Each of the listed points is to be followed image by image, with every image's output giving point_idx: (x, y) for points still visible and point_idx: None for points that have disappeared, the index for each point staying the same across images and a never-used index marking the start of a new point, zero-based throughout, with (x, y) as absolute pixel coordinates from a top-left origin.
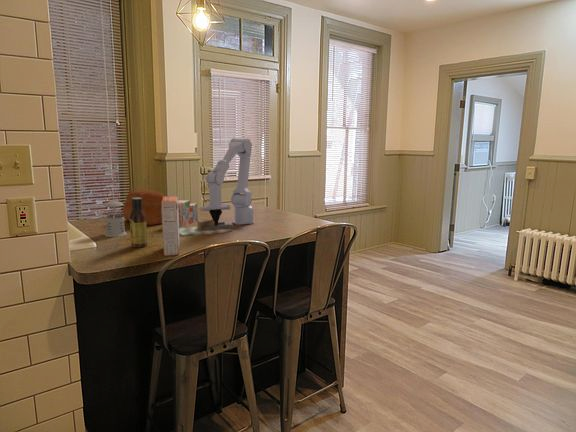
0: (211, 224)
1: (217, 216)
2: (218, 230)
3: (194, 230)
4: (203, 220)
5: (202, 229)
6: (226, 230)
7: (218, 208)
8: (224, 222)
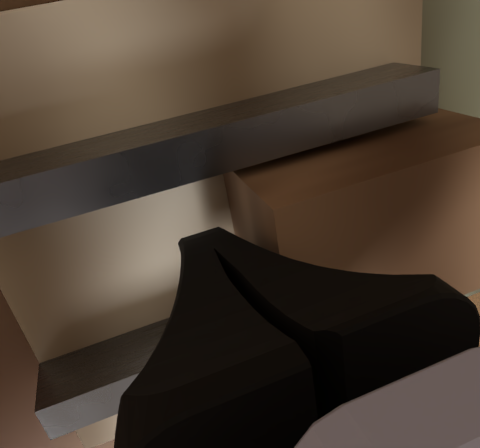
0: (304, 170)
1: (236, 302)
2: (166, 54)
3: None
4: (434, 274)
5: None
6: (1, 13)
7: (411, 395)
8: (41, 407)
